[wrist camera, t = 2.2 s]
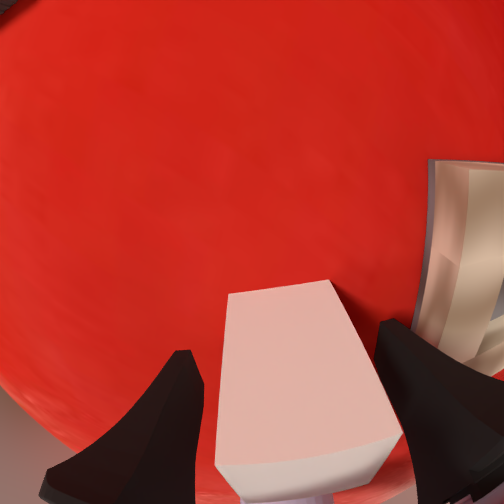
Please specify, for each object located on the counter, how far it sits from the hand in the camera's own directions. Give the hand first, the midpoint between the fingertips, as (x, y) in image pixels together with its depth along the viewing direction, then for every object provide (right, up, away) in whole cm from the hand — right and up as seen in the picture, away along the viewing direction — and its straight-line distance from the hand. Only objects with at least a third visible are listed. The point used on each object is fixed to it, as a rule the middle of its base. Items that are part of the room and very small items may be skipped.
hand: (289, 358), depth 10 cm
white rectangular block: (0, +1, +2) cm, 2 cm away
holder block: (+13, +3, +1) cm, 13 cm away
